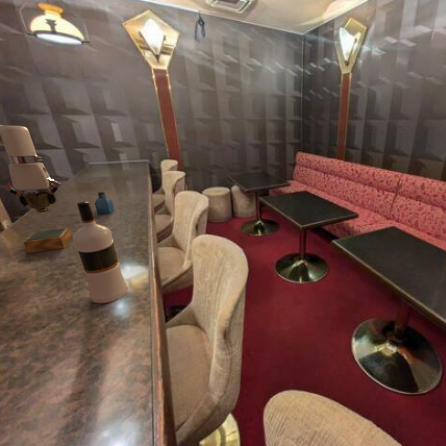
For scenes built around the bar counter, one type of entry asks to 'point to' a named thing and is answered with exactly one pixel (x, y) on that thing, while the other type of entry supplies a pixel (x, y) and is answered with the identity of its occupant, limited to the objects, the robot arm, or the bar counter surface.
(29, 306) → the bar counter surface
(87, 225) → the vodka
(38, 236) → the riser
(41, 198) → the cup
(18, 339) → the bar counter surface
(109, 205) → the perfume bottle
